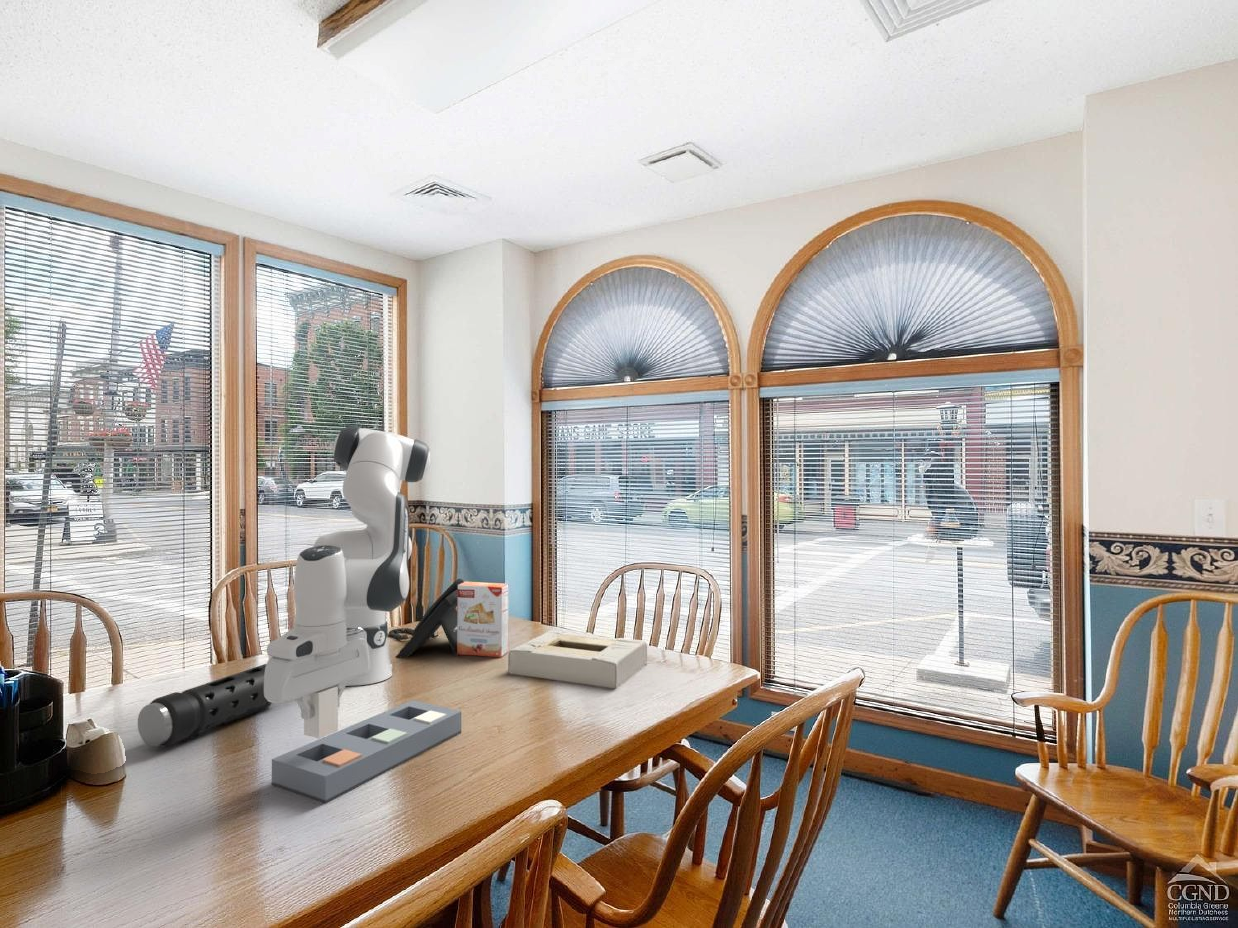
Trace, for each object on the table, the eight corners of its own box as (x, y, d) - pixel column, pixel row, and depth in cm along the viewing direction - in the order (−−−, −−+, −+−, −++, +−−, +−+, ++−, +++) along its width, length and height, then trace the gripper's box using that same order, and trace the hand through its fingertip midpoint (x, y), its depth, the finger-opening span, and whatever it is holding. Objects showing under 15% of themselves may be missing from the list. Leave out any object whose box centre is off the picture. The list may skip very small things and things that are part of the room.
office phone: (393, 632, 230) (393, 572, 230) (478, 633, 229) (478, 572, 229) (357, 657, 201) (357, 588, 200) (453, 659, 200) (454, 589, 199)
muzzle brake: (285, 709, 159) (285, 664, 159) (168, 758, 133) (168, 704, 133) (254, 703, 163) (254, 659, 163) (134, 750, 137) (134, 698, 137)
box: (506, 676, 185) (617, 690, 174) (506, 647, 186) (617, 659, 174) (546, 654, 207) (647, 666, 195) (547, 629, 207) (647, 638, 195)
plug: (304, 734, 124) (303, 690, 124) (322, 726, 128) (322, 683, 128) (319, 738, 122) (319, 693, 122) (337, 730, 126) (337, 686, 126)
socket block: (271, 784, 122) (271, 756, 122) (412, 720, 152) (412, 698, 152) (325, 803, 116) (325, 774, 116) (461, 732, 146) (461, 709, 146)
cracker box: (456, 655, 203) (456, 584, 202) (464, 649, 209) (465, 580, 208) (501, 658, 200) (501, 586, 200) (508, 652, 206) (509, 582, 206)
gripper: (354, 622, 136) (354, 692, 136) (257, 647, 118) (258, 728, 118) (377, 626, 133) (377, 698, 133) (282, 652, 115) (282, 735, 115)
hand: (320, 712), depth 125 cm, fingers closed on plug, 4 cm apart
